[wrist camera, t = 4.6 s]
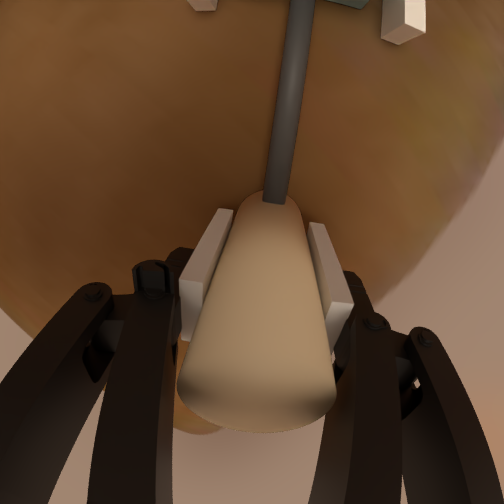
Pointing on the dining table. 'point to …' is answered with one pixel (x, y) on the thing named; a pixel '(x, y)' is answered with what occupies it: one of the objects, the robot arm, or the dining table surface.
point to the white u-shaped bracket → (393, 18)
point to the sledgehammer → (266, 290)
